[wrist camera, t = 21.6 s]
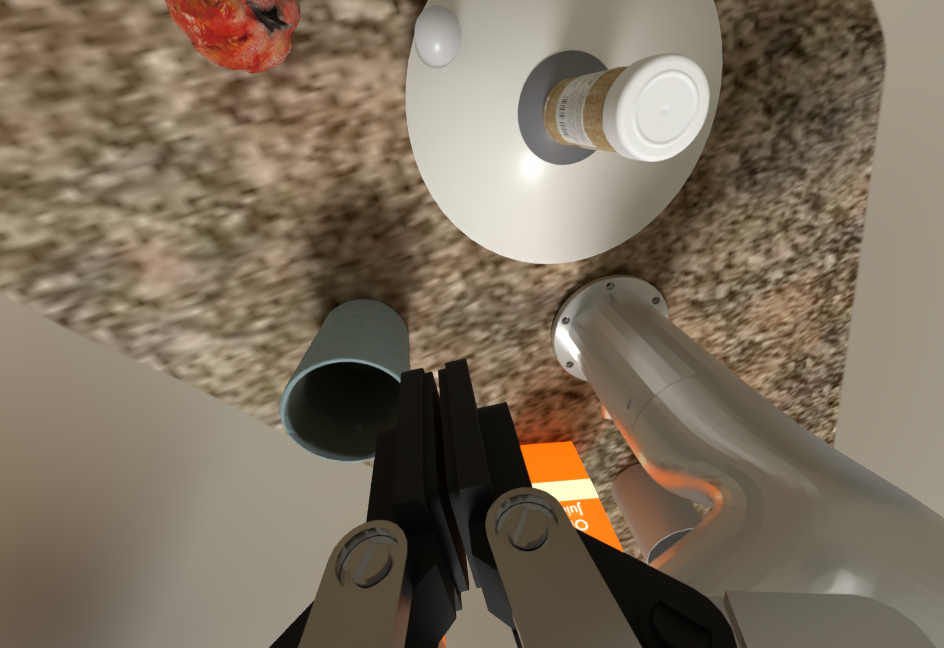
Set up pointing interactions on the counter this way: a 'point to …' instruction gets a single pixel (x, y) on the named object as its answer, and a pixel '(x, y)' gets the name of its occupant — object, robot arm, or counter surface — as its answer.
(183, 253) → the counter surface
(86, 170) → the counter surface
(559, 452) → the orange juice
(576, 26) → the turntable
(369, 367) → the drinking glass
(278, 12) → the pomegranate
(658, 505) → the cup
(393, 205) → the counter surface
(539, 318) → the counter surface
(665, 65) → the sprinkles bottle
